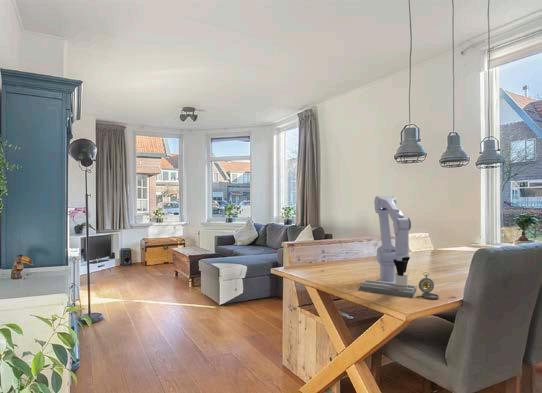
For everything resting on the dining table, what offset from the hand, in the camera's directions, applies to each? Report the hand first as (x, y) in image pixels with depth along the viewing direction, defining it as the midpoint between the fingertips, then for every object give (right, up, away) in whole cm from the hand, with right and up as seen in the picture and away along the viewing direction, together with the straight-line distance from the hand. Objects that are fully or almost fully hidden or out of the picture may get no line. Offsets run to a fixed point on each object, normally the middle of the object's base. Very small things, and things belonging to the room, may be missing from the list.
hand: (401, 274), depth 155 cm
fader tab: (0, -6, 0) cm, 6 cm away
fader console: (-5, -8, +3) cm, 10 cm away
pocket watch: (+10, -9, -7) cm, 14 cm away
